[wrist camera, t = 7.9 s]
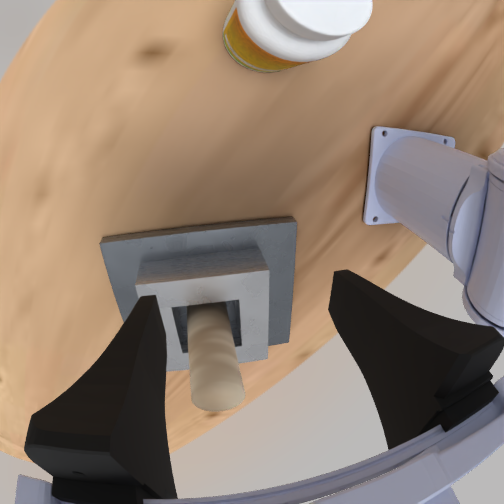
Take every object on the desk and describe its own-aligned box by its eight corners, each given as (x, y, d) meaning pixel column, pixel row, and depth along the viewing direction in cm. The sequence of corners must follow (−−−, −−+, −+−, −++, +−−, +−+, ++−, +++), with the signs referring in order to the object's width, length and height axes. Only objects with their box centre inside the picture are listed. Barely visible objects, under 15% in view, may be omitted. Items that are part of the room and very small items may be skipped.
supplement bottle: (296, 81, 17) (379, 74, 9) (214, 65, 16) (237, 31, 8) (309, 13, 15) (393, -31, 7) (230, -6, 14) (265, -79, 5)
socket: (292, 216, 22) (312, 240, 19) (286, 335, 28) (298, 366, 24) (102, 237, 20) (88, 265, 16) (139, 352, 26) (136, 386, 22)
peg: (222, 282, 22) (242, 377, 15) (227, 312, 24) (247, 406, 16) (182, 289, 22) (185, 386, 14) (190, 319, 23) (197, 414, 16)
